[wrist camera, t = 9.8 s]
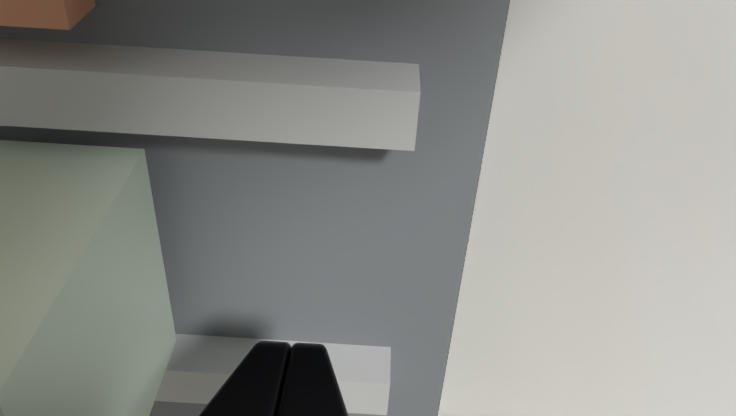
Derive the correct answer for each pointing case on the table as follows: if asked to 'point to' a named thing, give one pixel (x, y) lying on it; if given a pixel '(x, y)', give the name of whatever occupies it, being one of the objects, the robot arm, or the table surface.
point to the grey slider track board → (282, 168)
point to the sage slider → (80, 282)
